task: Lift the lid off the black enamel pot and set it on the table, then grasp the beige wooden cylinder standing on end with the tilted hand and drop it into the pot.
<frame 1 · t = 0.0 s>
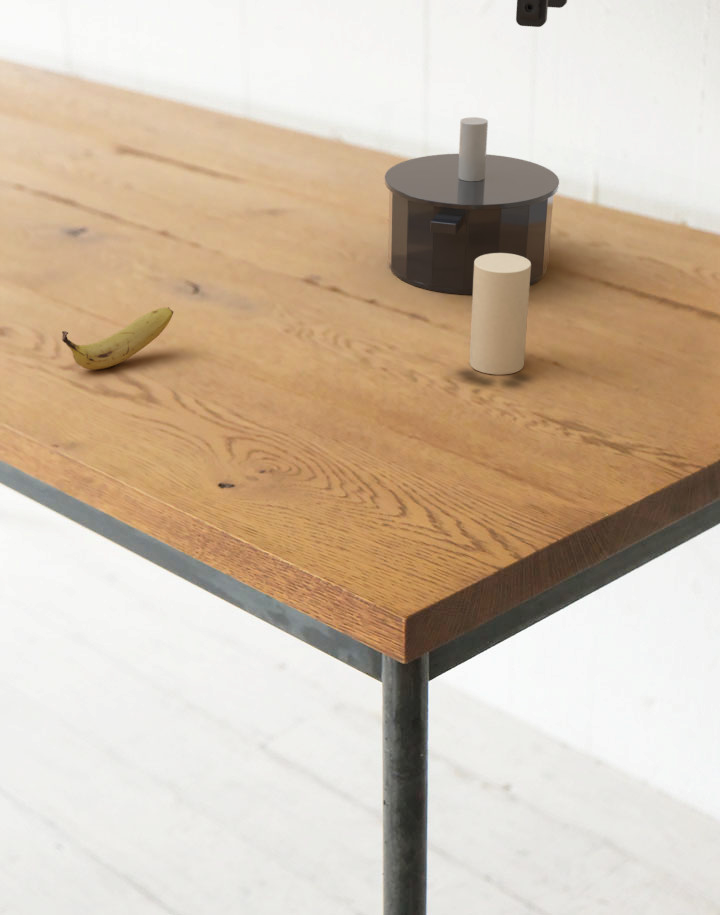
hand: (542, 15, 105), 28 cm above the table, tool pointing down, fingers open, 8 cm apart
beige wooden cylinder: (496, 363, 114), on the table
pot: (467, 265, 134), on the table
banana: (121, 365, 114), on the table
lid: (471, 182, 130), point 8 cm above the table, touching pot
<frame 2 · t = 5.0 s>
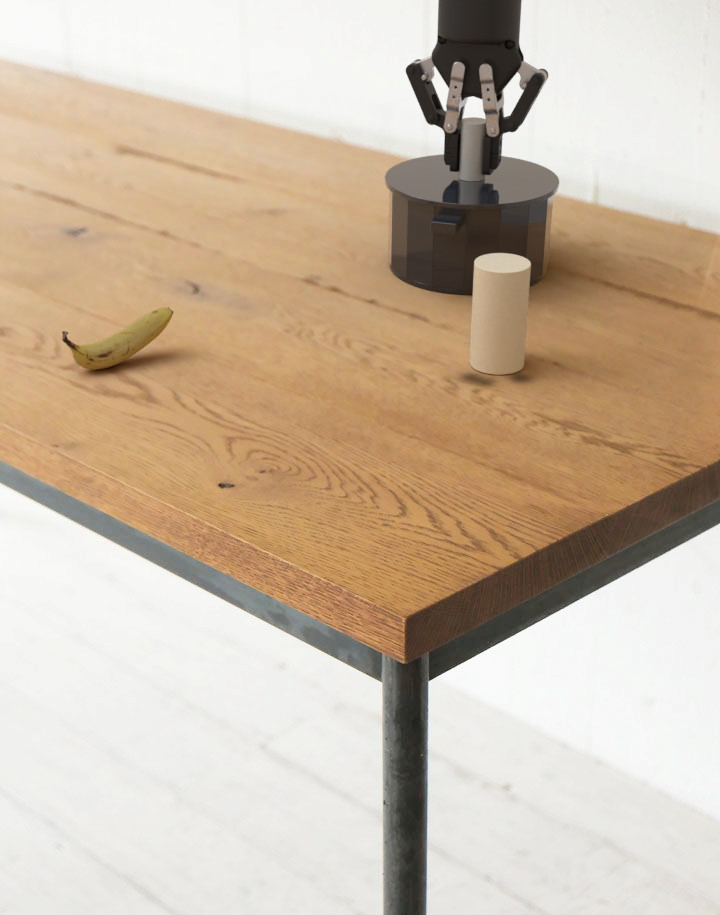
hand: (472, 170, 130), 10 cm above the table, tool pointing down, fingers closed on lid, 2 cm apart
lid: (471, 182, 130), point 8 cm above the table, touching gripper, pot
everything else where it was.
when the fingers open (2 cm above the table, at t = 13.4 s): lid stays where it is, point 1 cm above the table.
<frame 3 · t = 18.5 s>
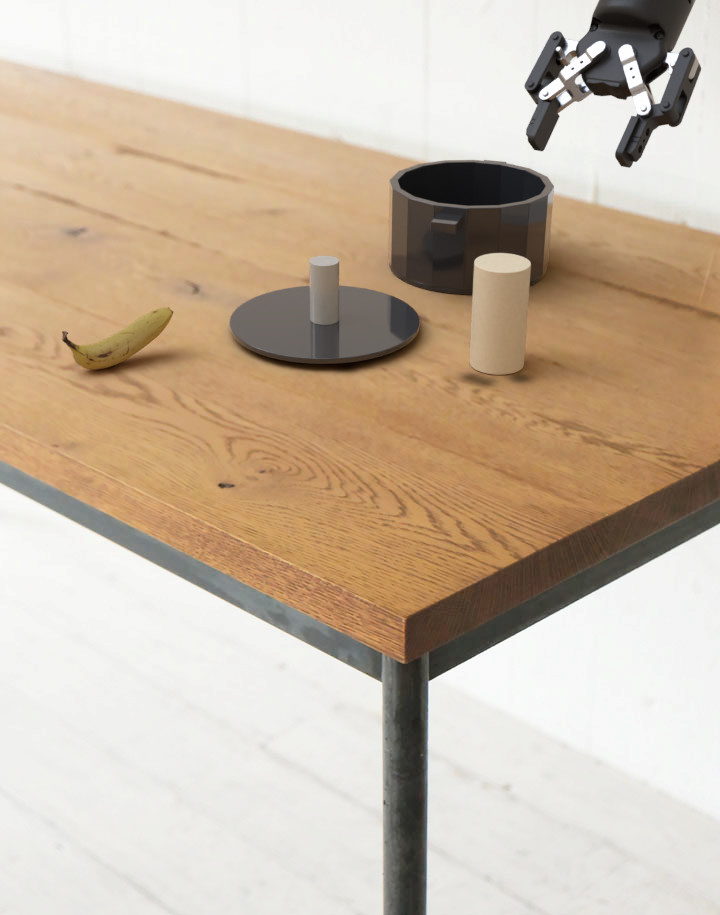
hand: (577, 154, 114), 16 cm above the table, tool tilted 40°, fingers open, 8 cm apart
lid: (324, 324, 119), point 1 cm above the table
everything else where it was.
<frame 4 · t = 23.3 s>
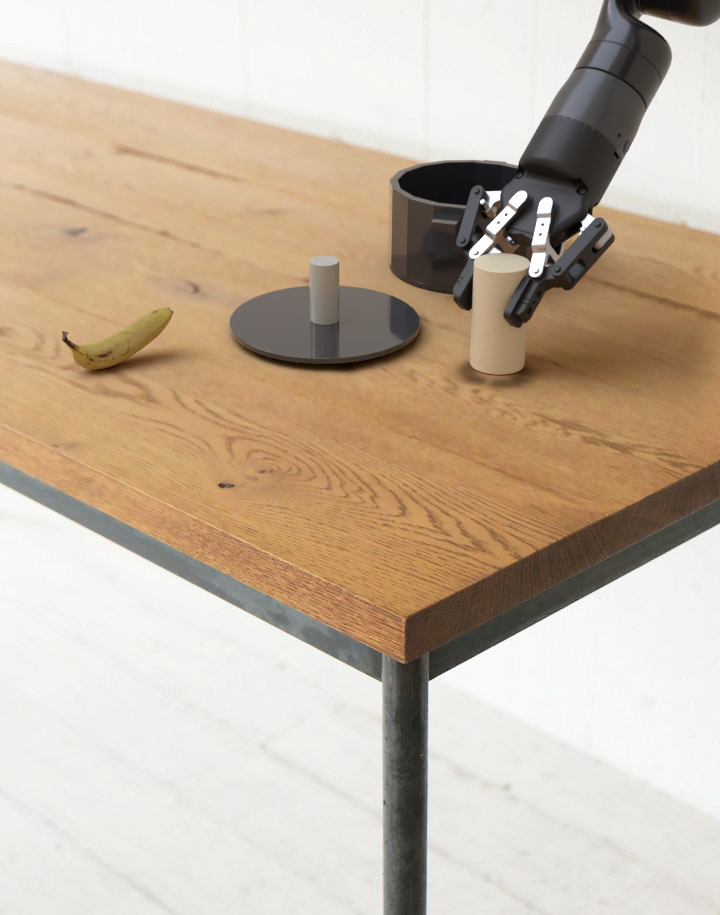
hand: (485, 313, 110), 5 cm above the table, tool tilted 45°, fingers closed on beige wooden cylinder, 4 cm apart
beige wooden cylinder: (496, 363, 114), on the table, touching gripper
everything else where it was.
when the fingers open (6 cm above the table, at t = 32.8 s): beige wooden cylinder stays where it is, resting on pot.
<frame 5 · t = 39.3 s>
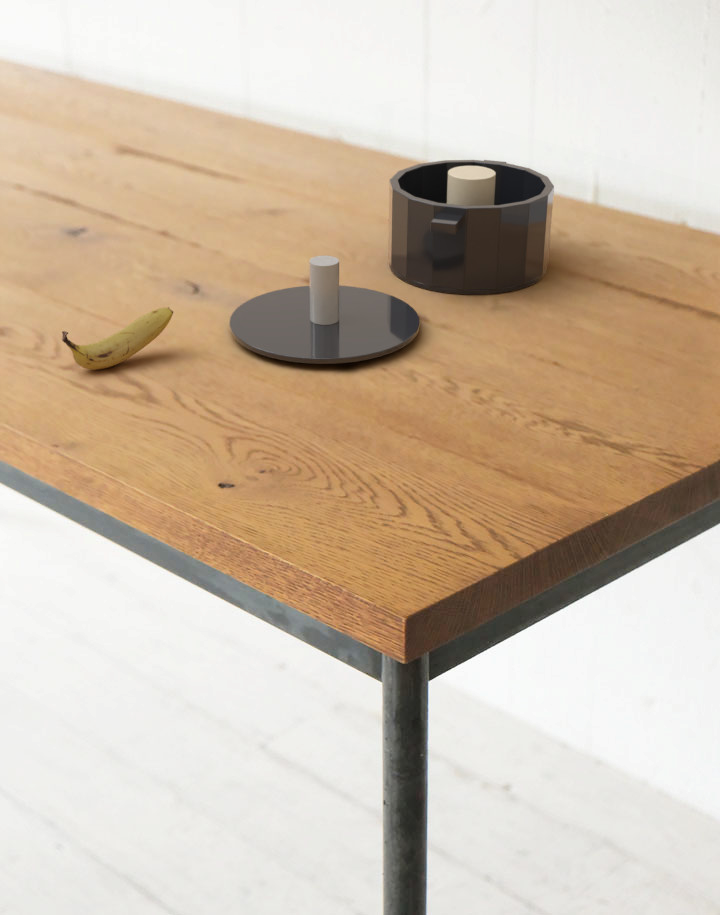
beige wooden cylinder: (467, 260, 134), resting on pot
everything else where it was.
at the end: lid inside the target area (0.1 cm from its centre), point 0.6 cm above the table; beige wooden cylinder inside the target area in the pot (0.1 cm from its centre), point 0.5 cm above the pot's base; the gripper is holding nothing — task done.
